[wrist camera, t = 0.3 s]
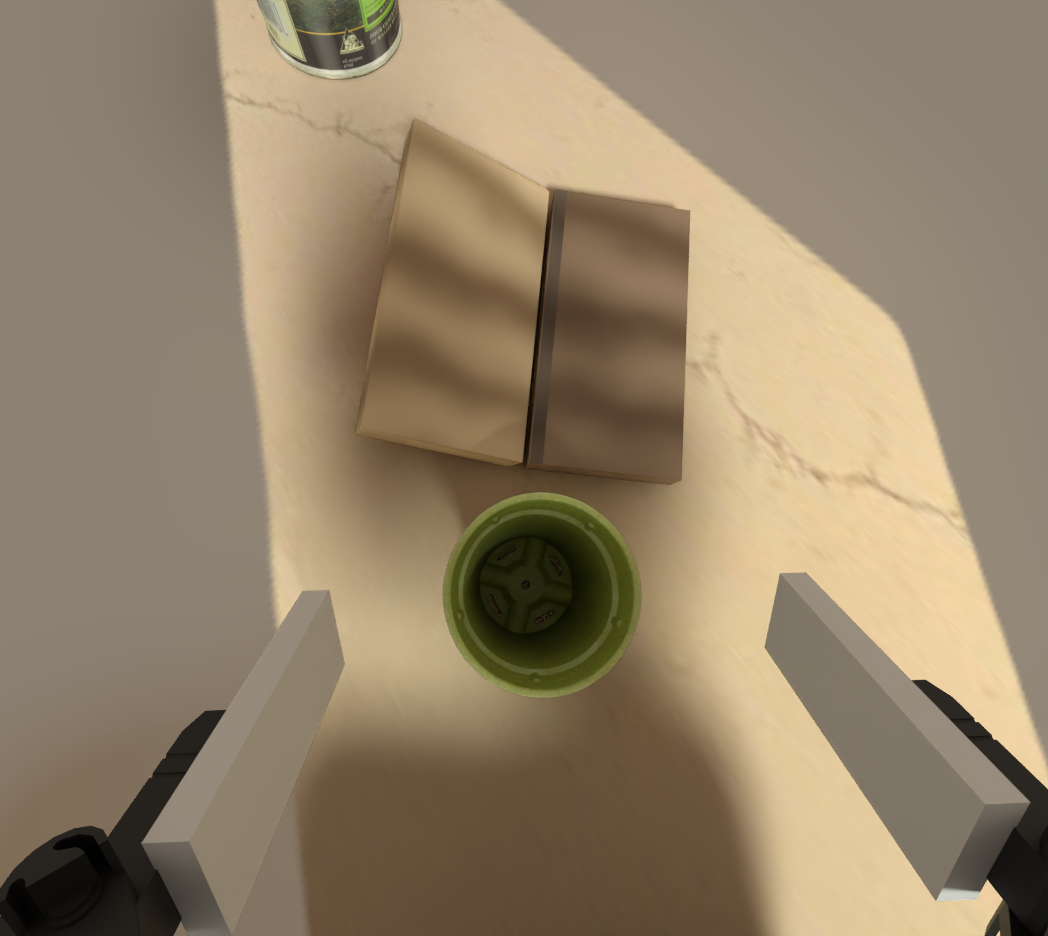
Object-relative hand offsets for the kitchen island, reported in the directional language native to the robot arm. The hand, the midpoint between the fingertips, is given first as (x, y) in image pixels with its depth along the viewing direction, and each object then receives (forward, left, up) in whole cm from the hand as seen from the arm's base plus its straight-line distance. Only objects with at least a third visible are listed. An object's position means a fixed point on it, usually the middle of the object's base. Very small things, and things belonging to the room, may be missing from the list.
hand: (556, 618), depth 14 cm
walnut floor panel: (+18, -5, -17) cm, 25 cm away
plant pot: (0, -1, -17) cm, 17 cm away
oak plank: (+18, +6, -15) cm, 24 cm away
